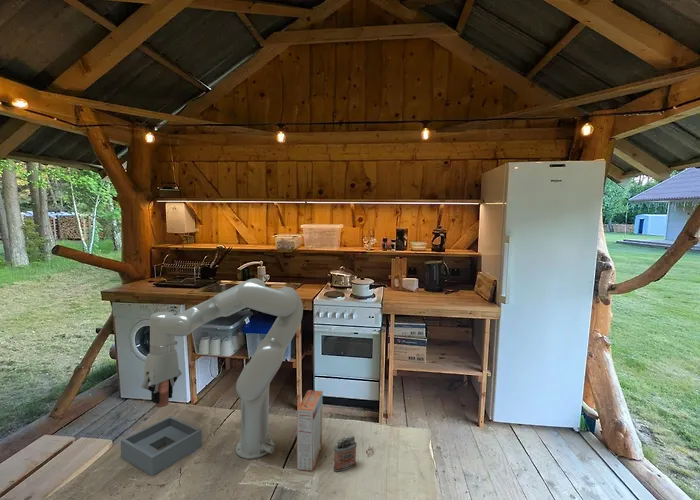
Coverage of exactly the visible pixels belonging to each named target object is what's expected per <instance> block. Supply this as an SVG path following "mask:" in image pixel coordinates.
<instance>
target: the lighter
mask: <svg viewBox="0 0 700 500" xmlns="http://www.w3.org/2000/svg"><path fill="white" fill-rule="evenodd" d="M355 438H356V437H355V436H354V435H352V436H348V437H345V436H344V437H342V438H341V439H338V440H337V444H336V445H335V446H333V451H334V454H333V455H334V459H333V462H334V463H333V472H334V473H337V474H338V473H344V472H348V471H349V470H353V469H354V468H355V467H356V466H357V461H356V460H357V459H356V457H357V456H356V455H357V442H356V441H355V440H356V439H355Z"/></svg>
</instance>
